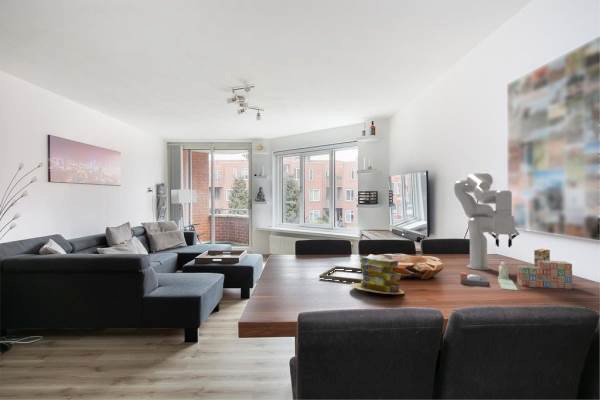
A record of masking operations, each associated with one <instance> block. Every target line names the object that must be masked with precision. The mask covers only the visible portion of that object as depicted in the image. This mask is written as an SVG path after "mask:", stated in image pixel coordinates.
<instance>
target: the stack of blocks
mask: <svg viewBox="0 0 600 400" xmlns="http://www.w3.org/2000/svg"><path fill="white" fill-rule="evenodd" d="M516 269H517V270H516V271H517V272H516V277H517V278H516V283H517V285H520V286H521V287H530V288H531V287H532V288H553V289H566V290H572V289H573V264H572V263H570V262H567V261H561V260H560V261H559V260H550V261H541V260H537V266H535V265H516Z"/></svg>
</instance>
